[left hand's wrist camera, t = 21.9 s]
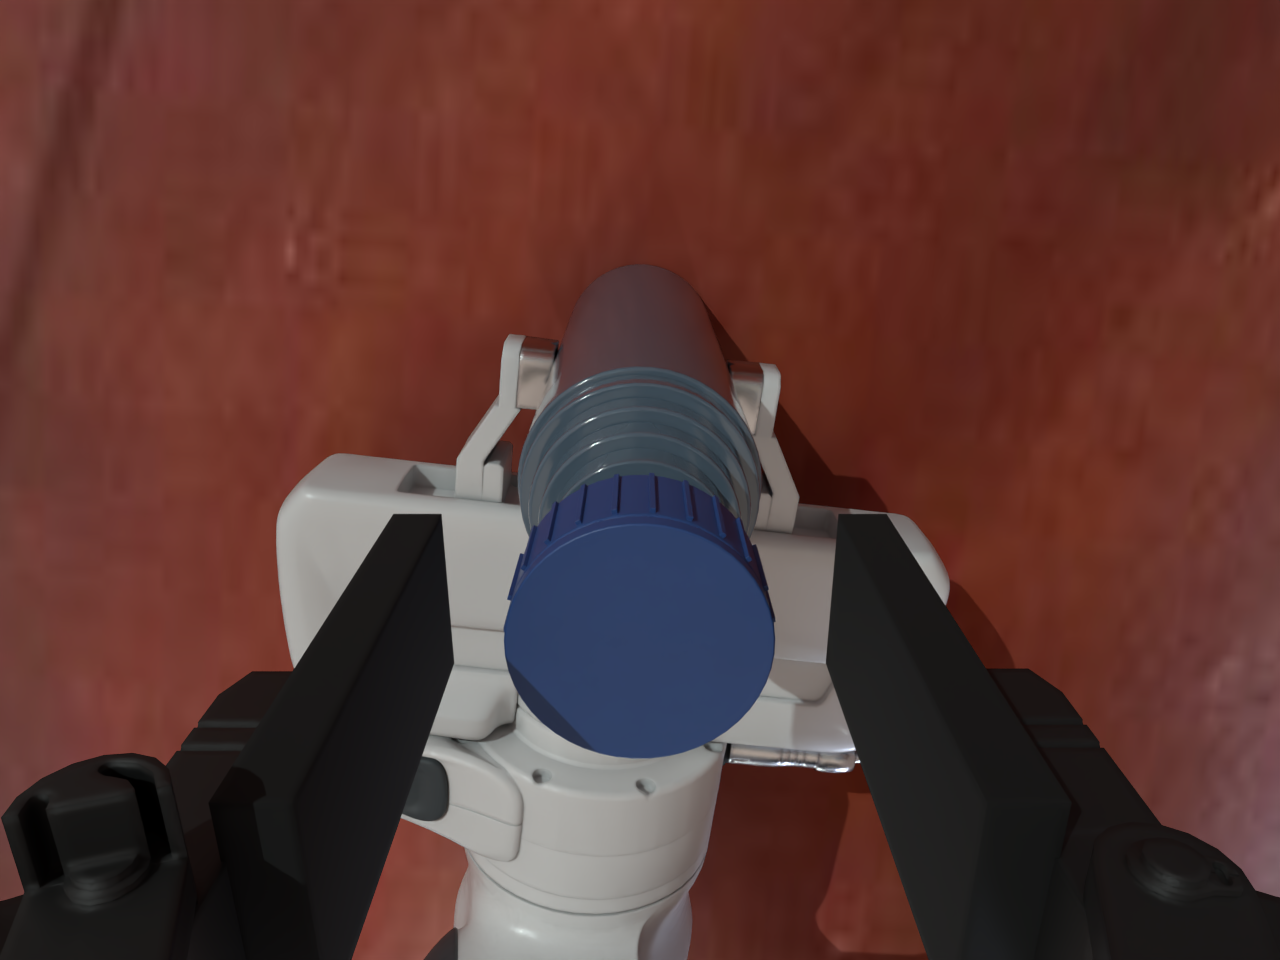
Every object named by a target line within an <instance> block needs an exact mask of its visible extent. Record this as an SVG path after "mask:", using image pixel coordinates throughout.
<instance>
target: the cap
mask: <svg viewBox="0 0 1280 960" xmlns="http://www.w3.org/2000/svg"><path fill="white" fill-rule="evenodd" d="M768 590H769V588H768V584H767V580H766V577H765V573H764V570H763V566H762V563H761V559H760V555H759V552H758V548H757V546H756V544H754V545H752V544H751V541H750V539H749V537H748V535H747V534H746V532H745V530H744V526H743V522H742V520H741V518H740V517H738V518H737V519H736V518H735V517H734V515H733V514H732V513H731V512H730V511H729V510H728V509H727V508H726V507H725V506H723V505H722V504H721V503H720V502H719V498H718V497H717V496H716V495H714V496H713V497H712V496H710V495H709V494H707V493H705V492H704V491H702V490H700V489H698V488H696V487H694V486H692V485H689V481H686V480H683V482H681V481H678V480H674V479H670V478H666V477H660V476H655V473H649V475H627V476H619V474H615V475H614V477H613V478H609V479H605V480H602V481H598V482H595V483H593V484H590V485H588V486H586V484H583V485H581V487H580V489H579V490H578V491H576V492H574V493H572V494H570V495H569V496H567V497H566V498H565V499H563V500H562V501H561V502H559V503H558V502H557V501H556V502H554V503H553V504H552V508H551V510H550V511H549V512H548V513H547V514H546V515H545V517H544V518H543V519H542V521H541V522H540V523H539V524H538V526H535V525H533V527H532V529H531V532H530V536H529V539H528V543H527V547H526V549H525V552H524V554H522V553H520V555H519V559H518V562H517V566H516V569H515V573H514V576H513V580H512V583H511V587H510V590H509V594H508V597H507V600H510V601H511V602H510V605H509V609H508V613H507V616H506V620H505V624H504V627H503V630H504V650H505V658H506V663H507V667H508V671H509V674H510V676H511V679H512V682H513V684H514V686H515V688H516V690H517V692H518V693H519V695H520V697H521V699H522V700H523V702H524V703H525V704H526V706H527V707H528V708H529V710H530V711H531V712H532V713H533V714H534V715H535V716H536V717H537V718H538V719H539V720H540V721H541V722H542V723H543V724H544V725H545V726H546V727H548V728H549V729H550V730H552V731H553V732H554V733H555V734H557V735H559V736H560V737H562V738H564V739H565V740H567V741H569V742H571V743H573V744H575V745H577V746H579V747H582V748H584V749H587V750H590V751H593V752H596V753H599V754H603V755H608V756H613V757H619V758H629V759H651V758H659V757H667V756H671V755H676V754H680V753H684V752H687V751H689V750H692V749H695V748H698V747H700V746H702V745H704V744H706V743H708V742H710V741H712V740H714V739H716V738H717V737H719V736H720V735H722V734H724V733H725V732H727V731H728V730H729V729H730V728H731V727H733V726H734V725H735V724H736V723H738V722H739V721H740V720H741V719H742V717H743V716H744V715H745V714H746V713H747V712H748V711H749V710H750V709H751V707H752V706H753V705H754V703H755V702H756V700H757V699H758V698H759V696H760V694H761V692H762V690H763V688H764V686H765V684H766V682H767V680H768V677H769V674H770V671H771V669H772V664H773V659H774V654H775V630H774V622H776V620H775V614H774V611H773V607H772V604H771V600H770V596H769V593H768Z"/></svg>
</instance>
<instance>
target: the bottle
mask: <svg viewBox="0 0 1280 960" xmlns="http://www.w3.org/2000/svg"><path fill="white" fill-rule="evenodd" d="M649 473H655V476H660V477H666V478H670V479H674V480H678V481H681V482H683V480H686V481H689V485H692V486H694V487H696V488H698V489H700V490H702V491H704V492H705V493H707V494H709V495H710V496H712V497H713V496H714V495H716V496H717V497H718V498H719V502H720V503H721V504H722V505H723V506H725V507H726V508H727V509H728V510H729V511H730V512H731V513H732V514H733V515H734V517H735V518H736V519H737V518H738V517H740V518H741V520H742V522H743V526H744V530H745V532H746V534H747V535H748V537H749V539H750V538H751V535H752V533H753V530H754V527H755V525H756V521H757V516H758V512H759V504H760V498H761V489H762V472H761V463H760V458H759V453H758V450H757V447H756V444H755V441H754V439H753V436H752V433H751V430H750V428H749V425H748V422H747V419H746V417H745V414H744V411H743V408H742V406H741V403H740V400H739V397H738V395H737V392H736V389H735V387H734V384H733V381H732V378H731V376H730V373H729V370H728V367H727V365H726V362H725V359H724V356H723V354H722V351H721V348H720V345H719V343H718V340H717V337H716V335H715V332H714V329H713V326H712V324H711V321H710V318H709V315H708V313H707V310H706V307H705V305H704V303H703V301H702V299H701V298H700V296H699V295H698V294H697V292H696V291H695V290H694V289H693V288H692V286H691V285H690V284H689V283H687V282H686V281H685V280H684V279H683V278H681V277H680V276H678V275H676V274H675V273H673V272H671V271H669V270H666V269H663V268H660V267H657V266H651V265H638V264H637V265H628V266H623V267H619V268H616V269H614V270H611V271H609V272H607V273H605V274H603V275H602V276H600V277H599V278H597V279H596V280H595V281H593V282H592V283H591V284H590V285H589V286H588V287H587V288H586V290H585V291H584V292H583V293H582V295H581V296H580V298H579V299H578V301H577V303H576V305H575V307H574V310H573V312H572V315H571V317H570V320H569V323H568V326H567V328H566V331H565V334H564V336H563V339H562V342H561V345H560V347H559V350H558V353H557V355H556V358H555V361H554V364H553V366H552V369H551V372H550V374H549V377H548V380H547V383H546V385H545V388H544V391H543V393H542V396H541V399H540V402H539V404H538V407H537V410H536V412H535V415H534V418H533V421H532V423H531V426H530V429H529V431H528V434H527V437H526V439H525V442H524V445H523V448H522V452H521V456H520V460H519V467H518V494H519V500H520V508H521V514H522V519H523V522H524V526H525V529H526V532H527V534H528V536H530V532H531V529H532V527H533V525H535V526H538V524H539V523H540V522H541V521H542V519H543V518H544V517H545V515H546V514H547V513H548V512H549V511H550V510H551V508H552V504H553V503H554V502H556V501H557V502H558V503H559V502H561V501H562V500H563V499H565V498H566V497H567V496H569V495H570V494H572V493H574V492H576V491H578V490H579V489H580V487H581V485H583V484H586V486H588V485H590V484H593V483H595V482H598V481H602V480H605V479H609V478H613V477H614V475H615V474H619V476H627V475H649Z"/></svg>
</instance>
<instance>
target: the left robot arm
mask: <svg viewBox="0 0 1280 960" xmlns="http://www.w3.org/2000/svg"><path fill="white" fill-rule="evenodd" d="M453 665H454V654H453V642H452V630H451V618H450V607H449V595H448V583H447V572H446V560H445V548H444V537H443V525H442V514H393V515H392V517H391V518H390V520H389V521H388V523H387V525H386V526H385V528H384V529H383V531H382V532H381V534H380V535H379V537H378V539H377V540H376V542H375V543H374V545H373V546H372V548H371V550H370V551H369V553H368V554H367V556H366V557H365V559H364V560H363V562H362V564H361V565H360V567H359V568H358V570H357V571H356V573H355V575H354V576H353V578H352V579H351V581H350V582H349V584H348V585H347V587H346V589H345V590H344V592H343V593H342V595H341V596H340V598H339V599H338V601H337V603H336V604H335V606H334V607H333V609H332V610H331V612H330V614H329V615H328V617H327V618H326V620H325V621H324V623H323V624H322V626H321V628H320V629H319V631H318V632H317V634H316V635H315V637H314V639H313V640H312V642H311V643H310V645H309V646H308V648H307V649H306V651H305V653H304V654H303V656H302V657H301V659H300V660H299V662H298V664H297V665H296V667H295V668H294V670H293V671H292V672H251V673H249V674H248V675H246V676H245V677H244V678H242V679H241V680H239V681H238V682H236V683H235V684H234V685H232V686H231V687H229V688H228V689H226V690H225V691H224V692H222V693H221V694H219V695H218V696H217V698H216V699H215V700H214V702H213V703H212V704H211V706H210V707H209V708H208V710H207V711H206V712H205V714H204V715H203V717H202V718H201V719H200V721H199V722H198V728H194V729H193V730H192V731H191V733H190V734H189V735H188V737H187V738H186V739H185V741H184V742H183V743H182V745H181V751H176V753H175V754H174V755H173V757H172V758H171V760H170V761H169V762H168V764H167V765H166V766H165V765H164V764H162V763H161V762H160V761H159V760H158V759H156V758H154V757H150V756H145V755H140V754H135V753H126V754H113V755H103V756H99V757H95V758H92V759H88V760H85V761H81V762H77V763H74V764H71V765H69V766H67V767H65V768H63V769H61V770H58V771H56V772H54V773H52V774H50V775H48V776H46V777H44V778H42V779H40V780H39V781H38V782H36V783H35V784H34V785H32V786H31V787H30V788H28V789H27V790H26V791H24V792H23V793H22V794H20V795H19V796H18V797H16V799H15V800H14V801H13V803H12V804H11V805H10V807H9V808H8V809H7V811H6V812H5V813H4V815H3V816H2V817H1V819H2V822H3V825H4V828H5V832H6V835H7V838H8V841H9V844H10V847H11V851H12V854H13V857H14V860H15V863H16V866H17V869H18V873H19V876H20V879H21V882H22V885H23V888H24V895H21V896H17V897H14V898H11V899H7V900H4V901H0V960H351V959H352V956H353V953H354V950H355V948H356V945H357V942H358V939H359V936H360V933H361V930H362V927H363V924H364V922H365V919H366V916H367V913H368V910H369V907H370V904H371V901H372V899H373V896H374V893H375V890H376V887H377V884H378V881H379V878H380V876H381V873H382V870H383V867H384V864H385V861H386V858H387V855H388V853H389V850H390V847H391V844H392V841H393V838H394V835H395V832H396V830H397V827H398V824H399V821H400V818H401V815H402V812H403V809H404V806H405V804H406V801H407V798H408V795H409V792H410V789H411V786H412V783H413V781H414V778H415V775H416V772H417V769H418V766H419V763H420V760H421V758H422V755H423V752H424V749H425V746H426V743H427V740H428V737H429V735H430V732H431V729H432V726H433V723H434V720H435V717H436V714H437V712H438V709H439V706H440V703H441V700H442V697H443V694H444V691H445V688H446V686H447V683H448V680H449V677H450V674H451V671H452V668H453ZM826 665H827V668H828V671H829V674H830V677H831V680H832V683H833V686H834V688H835V691H836V694H837V697H838V700H839V703H840V706H841V709H842V712H843V714H844V717H845V720H846V723H847V726H848V729H849V732H850V735H851V737H852V740H853V743H854V746H855V749H856V752H857V755H858V758H859V760H860V763H861V766H862V769H863V772H864V775H865V778H866V781H867V783H868V786H869V789H870V792H871V795H872V798H873V801H874V804H875V806H876V809H877V812H878V815H879V818H880V821H881V824H882V827H883V830H884V832H885V835H886V838H887V841H888V844H889V847H890V850H891V853H892V855H893V858H894V861H895V864H896V867H897V870H898V873H899V876H900V878H901V881H902V884H903V887H904V890H905V893H906V896H907V899H908V901H909V904H910V907H911V910H912V913H913V916H914V919H915V922H916V924H917V927H918V930H919V933H920V936H921V939H922V942H923V945H924V948H925V950H926V953H927V956H928V959H929V960H1280V897H1275V896H1272V895H1269V894H1265V893H1262V892H1259V891H1256V890H1255V889H1254V888H1253V886H1252V885H1251V883H1250V882H1249V880H1248V879H1247V877H1246V876H1245V874H1244V872H1243V871H1242V869H1241V868H1239V867H1238V866H1237V865H1236V864H1235V863H1233V862H1232V861H1231V860H1230V859H1229V858H1228V857H1226V856H1225V855H1224V854H1223V853H1222V852H1221V851H1219V850H1218V849H1217V848H1215V847H1213V846H1211V845H1209V844H1207V843H1205V842H1204V841H1202V840H1200V839H1198V838H1196V837H1194V836H1192V835H1191V834H1189V833H1185V832H1182V831H1179V830H1176V829H1173V828H1169V827H1166V826H1163V825H1161V824H1160V822H1159V821H1158V820H1157V818H1156V817H1155V816H1154V814H1153V813H1152V812H1151V810H1150V809H1149V808H1148V806H1147V805H1146V804H1145V802H1144V801H1143V800H1142V798H1141V797H1140V796H1139V794H1138V793H1137V792H1136V790H1135V789H1134V788H1133V786H1132V785H1131V784H1130V782H1129V781H1128V780H1127V778H1126V777H1125V776H1124V774H1123V773H1122V772H1121V770H1120V769H1119V768H1118V766H1117V765H1116V764H1115V762H1114V761H1113V760H1112V758H1111V757H1110V755H1109V754H1108V753H1107V751H1106V750H1105V749H1104V748H1100V745H1099V741H1098V739H1097V738H1096V737H1095V735H1094V734H1093V733H1092V731H1091V730H1090V729H1089V727H1088V726H1087V725H1083V722H1082V718H1081V717H1080V715H1079V714H1078V713H1077V711H1076V710H1075V709H1074V707H1073V706H1072V705H1071V703H1070V702H1069V701H1068V699H1067V698H1066V697H1065V695H1064V694H1063V693H1062V692H1061V691H1060V690H1058V689H1057V688H1055V687H1054V686H1052V685H1051V684H1050V683H1048V682H1047V681H1045V680H1044V679H1042V678H1041V677H1040V676H1038V675H1037V674H1035V673H1034V672H1032V671H1031V670H1029V669H986V668H985V667H984V665H983V664H982V662H981V660H980V659H979V657H978V656H977V654H976V653H975V651H974V649H973V648H972V646H971V645H970V643H969V642H968V640H967V639H966V637H965V635H964V634H963V632H962V631H961V629H960V628H959V626H958V624H957V623H956V621H955V620H954V618H953V617H952V615H951V614H950V612H949V610H948V609H947V607H946V606H945V604H944V603H943V601H942V599H941V598H940V596H939V595H938V593H937V592H936V590H935V589H934V587H933V585H932V584H931V582H930V581H929V579H928V578H927V576H926V575H925V573H924V571H923V570H922V568H921V567H920V565H919V564H918V562H917V560H916V559H915V557H914V556H913V554H912V553H911V551H910V550H909V548H908V546H907V545H906V543H905V542H904V540H903V539H902V537H901V535H900V534H899V532H898V531H897V529H896V528H895V526H894V525H893V523H892V521H891V520H890V518H889V517H888V515H887V514H838V525H837V537H836V548H835V560H834V572H833V583H832V595H831V607H830V618H829V630H828V642H827V653H826Z"/></svg>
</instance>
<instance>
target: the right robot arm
mask: <svg viewBox="0 0 1280 960" xmlns="http://www.w3.org/2000/svg"><path fill="white" fill-rule="evenodd" d="M558 346H559V341H558V340H553V339H545V338H537V337H530V336H525V335H513V334H509V335H508V337H507V339H506V340H505V342H504V347H503V353H502V359H501V375H500V391H499V395H498V397H497V398H496V399H495V401H494V402H493V404H492V405H491V407H490V408H489V409H488V411H487V412H486V414H485V415H484V416H483V418H482V419H481V421H480V422H479V423H478V425H477V426H476V428H475V429H474V431H473V432H472V433H471V435H470V436H469V438H468V440H467V441H466V443H465V445H464V447H463V449H462V450H461V452H460V454H459V456H458V458H457V464H456V466H454V465H445V464H435V463H426V462H417V461H408V460H399V459H390V458H381V457H372V456H363V455H354V454H342V453H339V454H334V455H331V456H329V457H327V458H326V459H325V460H324V461H322V462H321V463H320V464H319V465H318V466H316V467H315V468H314V469H313V470H312V471H311V472H309V473H308V474H307V475H306V476H305V477H304V478H303V479H302V480H301V481H300V482H299V483H298V484H297V485H296V486H295V488H294V489H293V490H292V491H291V492H290V494H289V495H288V496H287V498H286V499H285V501H284V502H283V504H282V506H281V509H280V511H279V514H278V518H277V525H276V548H277V565H278V577H279V587H280V596H281V604H282V611H283V618H284V624H285V630H286V635H287V641H288V646H289V651H290V656H291V660H292V663H293V667H294V668H295V667H296V665H297V664H298V662H299V660H300V659H301V657H302V656H303V654H304V653H305V651H306V649H307V648H308V646H309V645H310V643H311V642H312V640H313V639H314V637H315V635H316V634H317V632H318V631H319V629H320V628H321V626H322V624H323V623H324V621H325V620H326V618H327V617H328V615H329V614H330V612H331V610H332V609H333V607H334V606H335V604H336V603H337V601H338V599H339V598H340V596H341V595H342V593H343V592H344V590H345V589H346V587H347V585H348V584H349V582H350V581H351V579H352V578H353V576H354V575H355V573H356V571H357V570H358V568H359V567H360V565H361V564H362V562H363V560H364V559H365V557H366V556H367V554H368V553H369V551H370V550H371V548H372V546H373V545H374V543H375V542H376V540H377V539H378V537H379V535H380V534H381V532H382V531H383V529H384V528H385V526H386V525H387V523H388V521H389V520H390V518H391V517H392V515H393V514H442V525H443V537H444V548H445V560H446V572H447V583H448V595H449V607H450V618H451V630H452V642H453V654H454V665H453V668H452V671H451V674H450V677H449V680H448V683H447V686H446V688H445V691H444V694H443V697H442V700H441V703H440V706H439V709H438V712H437V714H436V717H435V720H434V723H433V726H432V729H431V732H430V735H429V737H428V740H427V743H426V746H425V749H424V752H423V755H422V758H421V760H420V763H419V766H418V769H417V772H416V775H415V778H414V781H413V783H412V786H411V789H410V792H409V795H408V798H407V801H406V804H405V806H404V809H403V812H402V815H401V818H402V819H405V820H407V821H410V822H412V823H415V824H417V825H419V826H422V827H424V828H426V829H429V830H431V831H433V832H435V833H437V834H439V835H442V836H444V837H446V838H448V839H450V840H452V841H454V842H455V843H457V844H459V845H461V846H463V847H464V849H465V852H466V856H467V860H468V864H469V866H468V869H467V871H466V873H465V875H464V877H463V879H462V882H461V885H460V888H459V892H458V895H457V900H456V905H455V915H454V928H453V929H452V930H451V931H449V932H448V933H447V934H446V935H445V936H444V937H443V938H442V939H441V940H440V941H439V942H438V943H437V944H436V945H435V946H434V947H433V949H432V950H431V951H430V952H429V953H428V955H427V956H426V957H425V959H424V960H687V957H688V951H689V947H690V941H691V933H692V908H691V902H690V897H689V892H688V891H689V890H690V888H691V887H692V885H693V884H694V882H695V880H696V878H697V876H698V874H699V872H700V870H701V868H702V866H703V863H704V860H705V856H706V853H707V849H708V842H709V838H710V832H711V827H712V821H713V815H714V810H715V805H716V799H717V794H718V789H719V784H720V778H721V770H722V765H725V763H733V764H743V765H754V766H765V767H785V766H787V767H792V766H795V767H801V766H802V767H805V768H813V769H814V770H815V771H820V772H826V773H845V772H851V771H852V770H853V769H854V767H855V763H860V760H859V758H858V755H857V752H856V749H855V746H854V743H853V740H852V737H851V735H850V732H849V729H848V726H847V723H846V720H845V717H844V714H843V712H842V709H841V706H840V703H839V700H838V697H837V694H836V691H835V688H834V686H833V683H832V680H831V677H830V674H829V671H828V668H827V665H826V653H827V642H828V630H829V618H830V607H831V595H832V583H833V572H834V560H835V548H836V537H837V525H838V514H887V515H888V517H889V518H890V520H891V521H892V523H893V525H894V526H895V528H896V529H897V531H898V532H899V534H900V535H901V537H902V539H903V540H904V542H905V543H906V545H907V546H908V548H909V550H910V551H911V553H912V554H913V556H914V557H915V559H916V560H917V562H918V564H919V565H920V567H921V568H922V570H923V571H924V573H925V575H926V576H927V578H928V579H929V581H930V582H931V584H932V585H933V587H934V589H935V590H936V592H937V593H938V595H939V596H940V598H941V599H942V601H943V603H944V604H945V606H946V603H947V600H948V596H949V590H950V582H949V577H948V573H947V571H946V568H945V566H944V564H943V562H942V560H941V559H940V557H939V555H938V553H937V552H936V550H935V548H934V547H933V545H932V544H931V543H930V541H929V540H928V539H927V537H926V536H925V535H924V534H923V532H922V531H921V530H920V529H919V528H918V526H917V525H916V524H915V523H914V522H913V521H912V520H911V519H910V518H908V517H906V516H904V515H899V514H893V513H884V512H874V511H865V510H856V509H847V508H838V507H829V506H820V505H810V504H801V503H798V502H799V495H798V492H797V489H796V487H795V484H794V482H793V479H792V477H791V474H790V471H789V469H788V466H787V464H786V461H785V459H784V456H783V453H782V451H781V448H780V446H779V443H778V441H777V438H776V436H775V433H774V431H773V428H774V422H775V417H776V411H777V405H778V400H779V394H780V388H781V374H780V372H779V370H778V368H777V367H776V365H774V364H765V363H757V362H747V361H737V360H727V361H726V365H727V367H728V370H729V373H730V376H731V378H732V381H733V384H734V387H735V389H736V392H737V395H738V397H739V400H740V403H741V406H742V408H743V411H744V414H745V417H746V419H747V422H748V425H749V428H750V430H751V433H752V436H753V439H754V441H755V444H756V447H757V450H758V453H759V458H760V462H761V464H762V467H763V469H764V472H762V471H761V472H762V489H761V498H760V504H759V512H758V516H757V521H756V525H755V527H754V530H753V533H752V535H751V538H750V541H751V544H752V545H754V544H756V546H757V548H758V552H759V555H760V559H761V563H762V566H763V570H764V573H765V577H766V580H767V584H768V588H769V590H768V593H769V596H770V600H771V604H772V607H773V611H774V614H775V620H776V622H774V630H775V654H774V659H773V664H772V669H771V671H770V674H769V677H768V680H767V682H766V684H765V686H764V688H763V690H762V692H761V694H760V696H759V698H758V699H757V700H756V702H755V703H754V705H753V706H752V707H751V709H750V710H749V711H748V712H747V713H746V714H745V715H744V716H743V717H742V719H741V720H740V721H739V722H738V723H736V724H735V725H734V726H733V727H731V728H730V729H729V730H728V731H727V732H725V733H724V734H722V735H720V736H719V737H717V738H716V739H714V740H712V741H710V742H708V743H706V744H704V745H702V746H700V747H698V748H695V749H692V750H689V751H687V752H684V753H680V754H676V755H671V756H667V757H659V758H651V759H629V758H619V757H613V756H608V755H603V754H599V753H596V752H593V751H590V750H587V749H584V748H582V747H579V746H577V745H575V744H573V743H571V742H569V741H567V740H565V739H564V738H562V737H560V736H559V735H557V734H555V733H554V732H553V731H552V730H550V729H549V728H548V727H546V726H545V725H544V724H543V723H542V722H541V721H540V720H539V719H538V718H537V717H536V716H535V715H534V714H533V713H532V712H531V711H530V710H529V708H528V707H527V706H526V704H525V703H524V702H523V700H522V699H521V697H520V695H519V693H518V692H517V690H516V688H515V686H514V684H513V682H512V679H511V676H510V674H509V671H508V667H507V663H506V658H505V650H504V630H503V627H504V624H505V620H506V616H507V613H508V609H509V605H510V602H511V601H510V600H507V597H508V594H509V590H510V587H511V583H512V580H513V576H514V573H515V569H516V566H517V562H518V559H519V555H520V553H522V554H524V552H525V549H526V547H527V543H528V539H529V536H528V534H527V532H526V529H525V526H524V522H523V519H522V514H521V508H520V500H519V494H518V472H511V471H512V452H513V445H512V444H511V443H510V442H508V441H500V440H499V439H500V438H501V437H502V435H503V434H504V432H505V431H506V430H507V428H508V427H509V425H510V424H511V423H512V421H513V420H514V418H515V417H516V415H517V414H518V413H519V411H520V410H521V408H524V409H535V410H537V407H538V404H539V402H540V399H541V396H542V393H543V391H544V388H545V385H546V383H547V380H548V377H549V374H550V372H551V369H552V366H553V364H554V361H555V358H556V355H557V353H558Z"/></svg>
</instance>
